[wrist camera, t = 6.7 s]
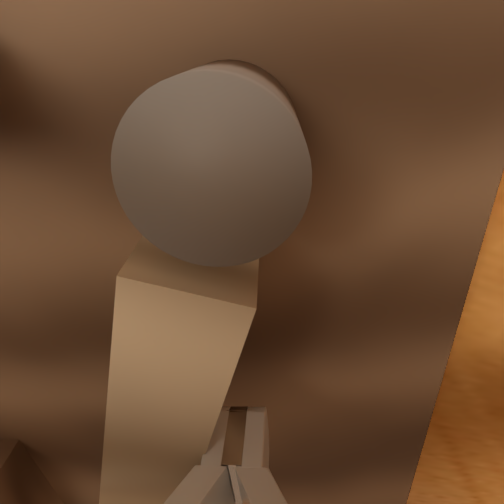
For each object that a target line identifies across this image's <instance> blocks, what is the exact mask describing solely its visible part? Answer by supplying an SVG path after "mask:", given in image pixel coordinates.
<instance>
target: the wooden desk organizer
mask: <svg viewBox="0 0 504 504" xmlns="http://www.w3.org/2000/svg"><path fill="white" fill-rule="evenodd" d="M226 59H232V60H241V61H245V62H249V63H252V64H254V65H257V66H259V67H260V68H262V69H264V70H266V71H267V72H268V73H270V74H271V75H272V76H273V77H274V78H275V79H276V80H277V81H278V82H279V83H280V84H281V85H282V86H283V88H284V89H285V90H286V92H287V94H288V96H289V97H290V99H291V102H292V104H293V107H294V109H295V112H296V115H297V118H298V121H299V124H300V126H301V129H302V132H303V135H304V138H305V141H306V144H307V147H308V151H309V155H310V158H311V167H312V187H311V193H310V198H309V202H308V205H307V208H306V211H305V213H304V215H303V217H302V219H301V221H300V223H299V224H298V226H297V227H296V229H295V230H294V231H293V233H292V234H291V235H290V236H289V237H288V239H286V240H285V241H284V242H283V243H282V244H281V245H280V246H279V247H277V248H276V249H275V250H273V251H272V252H270V253H269V254H267V255H265V256H263V257H261V258H259V271H258V290H257V309H256V312H255V315H254V317H253V320H252V323H251V326H250V329H249V332H248V335H247V337H246V340H245V343H244V346H243V349H242V352H241V354H240V357H239V360H238V363H237V366H236V369H235V371H234V374H233V377H232V380H231V383H230V386H229V388H228V391H227V394H226V397H225V400H224V403H223V405H222V406H248V407H266V409H267V419H268V429H269V470H270V472H271V474H272V476H273V477H274V479H275V481H276V483H277V485H278V487H279V489H280V491H281V493H282V494H283V496H284V498H285V500H286V502H287V504H406V502H407V499H408V496H409V492H410V489H411V485H412V482H413V478H414V475H415V472H416V468H417V465H418V461H419V458H420V454H421V451H422V448H423V444H424V441H425V437H426V434H427V430H428V427H429V423H430V420H431V417H432V413H433V410H434V406H435V403H436V399H437V396H438V393H439V389H440V386H441V382H442V379H443V375H444V372H445V369H446V365H447V362H448V358H449V355H450V351H451V348H452V345H453V341H454V338H455V334H456V331H457V327H458V324H459V321H460V317H461V314H462V310H463V307H464V303H465V300H466V296H467V293H468V290H469V286H470V283H471V279H472V276H473V272H474V269H475V266H476V262H477V259H478V255H479V252H480V248H481V245H482V242H483V238H484V235H485V231H486V228H487V224H488V221H489V218H490V214H491V211H492V207H493V204H494V200H495V197H496V193H497V190H498V187H499V183H500V180H501V176H502V173H503V169H504V0H0V504H99V496H100V483H101V470H102V457H103V444H104V432H105V419H106V406H107V393H108V380H109V367H110V354H111V341H112V328H113V315H114V302H115V289H116V276H117V275H118V273H119V271H120V270H121V268H122V267H123V265H124V264H125V262H126V261H127V259H128V258H129V256H130V255H131V253H132V251H133V250H134V248H135V247H136V245H137V244H138V242H139V241H140V239H141V238H142V236H143V235H142V234H141V233H140V232H139V231H138V230H137V229H136V228H135V227H134V225H133V224H132V222H131V221H130V220H129V218H128V217H127V215H126V214H125V212H124V210H123V208H122V207H121V204H120V202H119V200H118V197H117V195H116V192H115V188H114V185H113V180H112V173H111V151H112V143H113V140H114V136H115V132H116V130H117V127H118V125H119V123H120V121H121V119H122V117H123V115H124V114H125V112H126V111H127V109H128V108H129V106H130V105H131V104H132V103H133V102H134V101H135V100H136V99H137V97H139V96H140V95H141V94H142V93H143V92H145V91H146V90H147V89H148V88H150V87H152V86H153V85H155V84H157V83H158V82H160V81H162V80H165V79H167V78H170V77H172V76H175V75H177V74H180V73H183V72H185V71H188V70H191V69H193V68H196V67H199V66H201V65H204V64H207V63H209V62H213V61H217V60H226Z"/></svg>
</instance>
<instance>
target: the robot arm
mask: <svg viewBox="0 0 504 504" xmlns="http://www.w3.org/2000/svg"><path fill="white" fill-rule="evenodd" d="M163 504H287V502H286V500H285V498H284V496H283V494H282V493H281V491H280V489H279V487H278V485H277V483H276V481H275V479H274V477H273V476H272V474H271V472H270V470H269V429H268V419H267V409H266V407H248V406H222V408H221V411H220V414H219V417H218V420H217V423H216V425H215V428H214V431H213V434H212V437H211V440H210V442H209V445H208V448H207V451H206V454H203V455H202V459H201V465H195V466H194V467H193V468H192V469H191V471H190V472H189V473H188V474H187V476H186V477H185V478H184V479H183V480H182V482H181V483H180V484H179V485H178V486H177V488H176V489H175V490H174V491H173V493H172V494H171V495H170V496H169V497H168V499H167V500H166V501H165V502H164V503H163Z"/></svg>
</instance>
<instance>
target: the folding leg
mask: <svg viewBox="0 0 504 504" xmlns="http://www.w3.org/2000/svg"><path fill="white" fill-rule="evenodd" d="M111 173H112V180H113V185H114V188H115V192H116V195H117V197H118V200H119V202H120V204H121V207H122V208H123V210H124V212H125V214H126V215H127V217H128V218H129V220H130V221H131V222H132V224H133V225H134V227H135V228H136V229H137V230H138V231H139V232H140V233H141V234H142V235H143V236H142V238H141V239H140V241H139V242H138V244H137V245H136V247H135V248H134V250H133V251H132V253H131V255H130V256H129V258H128V259H127V261H126V262H125V264H124V265H123V267H122V268H121V270H120V271H119V273H118V275H117V276H116V289H115V302H114V315H113V328H112V341H111V354H110V367H109V380H108V393H107V406H106V419H105V432H104V444H103V457H102V470H101V483H100V496H99V504H163V503H164V502H165V501H166V500H167V499H168V497H169V496H170V495H171V494H172V493H173V491H174V490H175V489H176V488H177V486H178V485H179V484H180V483H181V482H182V480H183V479H184V478H185V477H186V476H187V474H188V473H189V472H190V471H191V469H192V468H193V467H194V466H195V465H201V459H202V455H203V454H206V451H207V448H208V445H209V442H210V440H211V437H212V434H213V431H214V428H215V425H216V423H217V420H218V417H219V414H220V411H221V408H222V405H223V403H224V400H225V397H226V394H227V391H228V388H229V386H230V383H231V380H232V377H233V374H234V371H235V369H236V366H237V363H238V360H239V357H240V354H241V352H242V349H243V346H244V343H245V340H246V337H247V335H248V332H249V329H250V326H251V323H252V320H253V317H254V315H255V312H256V309H257V290H258V271H259V258H261V257H263V256H265V255H267V254H269V253H270V252H272V251H273V250H275V249H276V248H277V247H279V246H280V245H281V244H282V243H283V242H284V241H285V240H286V239H288V237H289V236H290V235H291V234H292V233H293V231H294V230H295V229H296V227H297V226H298V224H299V223H300V221H301V219H302V217H303V215H304V213H305V211H306V208H307V205H308V202H309V198H310V193H311V187H312V167H311V158H310V155H309V151H308V147H307V144H306V141H305V138H304V135H303V132H302V129H301V126H300V124H299V121H298V118H297V115H296V112H295V109H294V107H293V104H292V102H291V99H290V97H289V96H288V94H287V92H286V90H285V89H284V88H283V86H282V85H281V84H280V83H279V82H278V81H277V80H276V79H275V78H274V77H273V76H272V75H271V74H270V73H268V72H267V71H266V70H264V69H262V68H260V67H259V66H257V65H254V64H252V63H249V62H245V61H241V60H232V59H226V60H217V61H213V62H209V63H207V64H204V65H201V66H199V67H196V68H193V69H191V70H188V71H185V72H183V73H180V74H177V75H175V76H172V77H170V78H167V79H165V80H162V81H160V82H158V83H157V84H155V85H153V86H152V87H150V88H148V89H147V90H146V91H145V92H143V93H142V94H141V95H140V96H139V97H137V99H136V100H135V101H134V102H133V103H132V104H131V105H130V106H129V108H128V109H127V111H126V112H125V114H124V115H123V117H122V119H121V121H120V123H119V125H118V127H117V130H116V132H115V136H114V140H113V143H112V151H111Z"/></svg>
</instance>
